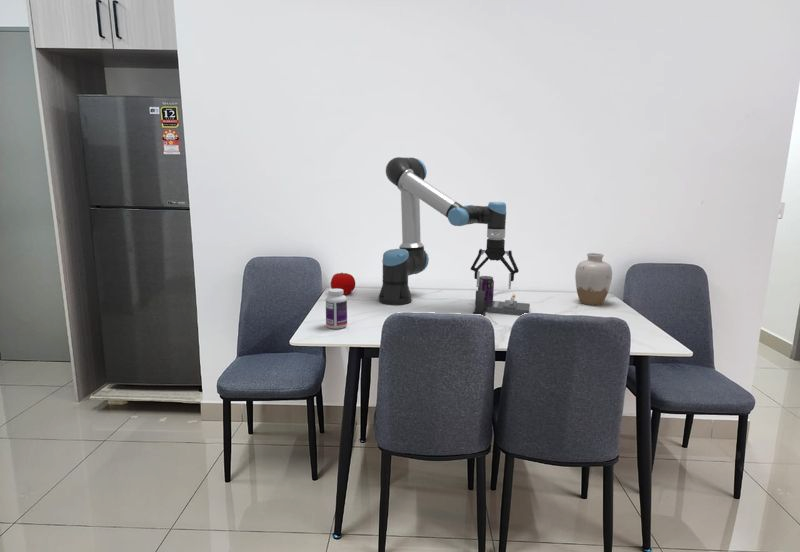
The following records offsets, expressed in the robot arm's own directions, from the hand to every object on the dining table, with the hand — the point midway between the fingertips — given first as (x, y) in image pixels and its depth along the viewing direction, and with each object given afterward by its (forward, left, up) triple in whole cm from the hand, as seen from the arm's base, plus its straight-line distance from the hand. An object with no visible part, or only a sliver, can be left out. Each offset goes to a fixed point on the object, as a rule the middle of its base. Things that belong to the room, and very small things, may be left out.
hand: (493, 287), depth 231 cm
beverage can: (-5, +11, -10) cm, 16 cm away
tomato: (-73, +7, -10) cm, 74 cm away
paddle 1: (+7, +3, -6) cm, 10 cm away
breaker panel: (+4, 0, -10) cm, 11 cm away
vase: (+42, +27, -10) cm, 51 cm away
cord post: (-5, -10, -10) cm, 15 cm away
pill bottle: (-55, -45, -10) cm, 71 cm away
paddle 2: (+7, -2, -6) cm, 10 cm away
